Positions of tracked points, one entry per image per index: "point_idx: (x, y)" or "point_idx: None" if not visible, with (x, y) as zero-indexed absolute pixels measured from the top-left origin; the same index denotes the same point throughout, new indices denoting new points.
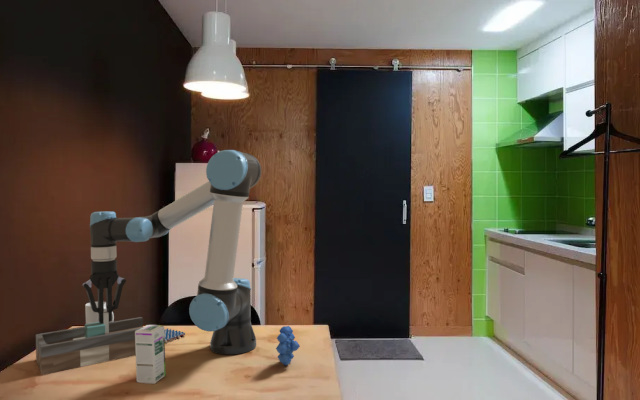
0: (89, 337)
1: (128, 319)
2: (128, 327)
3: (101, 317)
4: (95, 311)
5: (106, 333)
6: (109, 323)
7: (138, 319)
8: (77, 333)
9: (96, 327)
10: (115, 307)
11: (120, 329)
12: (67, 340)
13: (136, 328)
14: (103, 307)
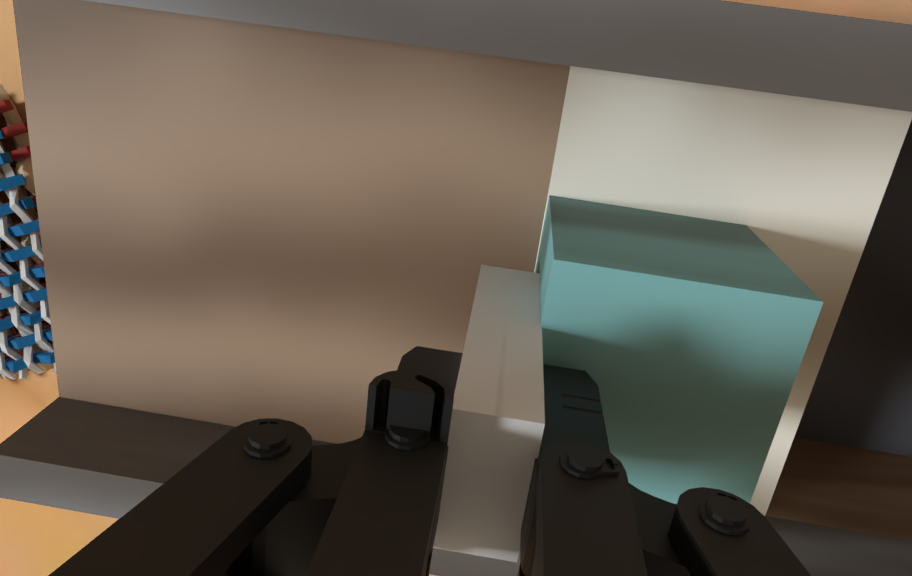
0: (854, 84)
1: None
2: (200, 429)
3: (568, 418)
4: (719, 498)
5: None
6: None
7: (47, 454)
8: None
9: (684, 272)
10: (282, 437)
11: None
12: (812, 518)
13: (133, 376)
14: (546, 514)
